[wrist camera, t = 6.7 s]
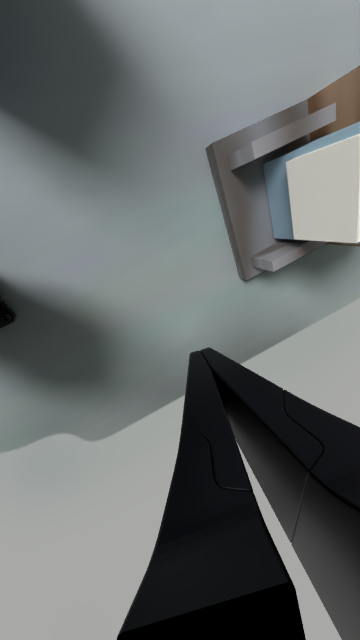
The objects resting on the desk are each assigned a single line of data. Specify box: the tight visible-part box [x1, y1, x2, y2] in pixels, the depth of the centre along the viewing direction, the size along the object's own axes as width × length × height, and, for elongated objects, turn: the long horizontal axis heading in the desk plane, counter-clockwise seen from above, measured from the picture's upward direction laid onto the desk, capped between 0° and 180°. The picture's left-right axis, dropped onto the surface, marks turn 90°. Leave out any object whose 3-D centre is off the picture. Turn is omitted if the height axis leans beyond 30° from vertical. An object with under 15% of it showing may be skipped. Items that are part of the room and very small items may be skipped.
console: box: [206, 66, 360, 281], centre depth 17 cm, size 13×12×8 cm
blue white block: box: [263, 121, 360, 243], centre depth 14 cm, size 4×6×11 cm, turn 23°
